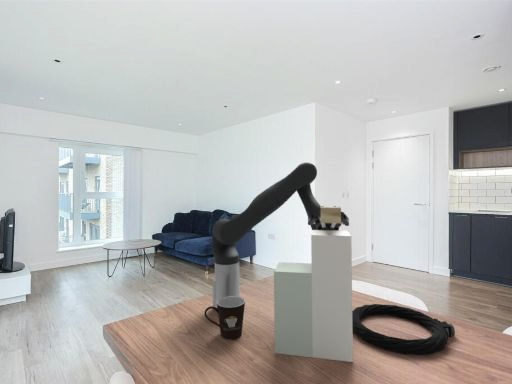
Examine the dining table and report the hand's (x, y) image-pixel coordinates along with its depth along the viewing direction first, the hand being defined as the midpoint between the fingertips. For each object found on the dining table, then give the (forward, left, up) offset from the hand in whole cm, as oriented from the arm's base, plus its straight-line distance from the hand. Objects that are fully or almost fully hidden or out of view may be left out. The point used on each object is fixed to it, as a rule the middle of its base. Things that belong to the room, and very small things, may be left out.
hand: (328, 208), depth 84 cm
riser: (-4, -8, -38) cm, 39 cm away
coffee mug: (-30, -10, -38) cm, 50 cm away
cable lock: (+19, +11, -39) cm, 45 cm away
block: (0, -3, -3) cm, 4 cm away
